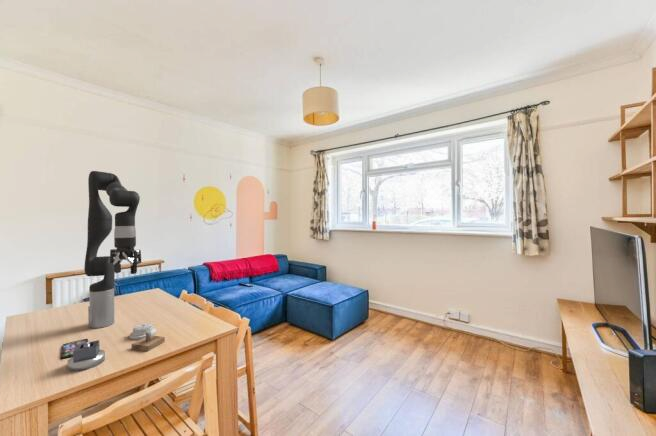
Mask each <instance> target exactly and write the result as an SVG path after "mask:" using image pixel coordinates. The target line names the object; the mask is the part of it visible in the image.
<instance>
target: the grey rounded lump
mask: <svg viewBox="0 0 656 436" xmlns="http://www.w3.org/2000/svg"><path fill="white" fill-rule="evenodd" d="M148 332H151V335H152V336H155V335H157V328H156V327H154V323H153V322H143V323H139V324H136V325H134V327H132V332H131V333H129V339H130V340H137V341H138V340H140V339H142V338H144V337H146V333H148Z"/></svg>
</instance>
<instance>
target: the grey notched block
mask: <svg viewBox="0 0 656 436" xmlns="http://www.w3.org/2000/svg"><path fill="white" fill-rule="evenodd" d="M89 342H90V347H86V348H83V345H84V343H82V344H78V345H77V346H76V348H75V350H74V351H73V363H75V362H80V361H84V360H89V359H94V358H96V357H97V355H98V353H99V350H100V339H97V340H93V341H89Z"/></svg>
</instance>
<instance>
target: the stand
mask: <svg viewBox="0 0 656 436" xmlns="http://www.w3.org/2000/svg"><path fill="white" fill-rule="evenodd" d="M165 337H166V336H165ZM165 337H164V336H161V335H160V336H159V335H153V336H152V335H151V332H148V333H146V337H144V338H142V339H139V340H137V341H134V342H132V343H131V349H132V350H138V351H143V352H149V351H151V350H152V349H154V348H156V347H158V346H160V345H161V344H163V343H164V342H165V340H166V339H165ZM165 343H166V342H165Z"/></svg>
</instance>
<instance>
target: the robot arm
mask: <svg viewBox="0 0 656 436" xmlns="http://www.w3.org/2000/svg"><path fill="white" fill-rule="evenodd" d="M87 181H88V182H87V184H88V185H87V186H88V213H87V214H88V215H87V238H86V239H87V241H86V243H87V244H86V251H85V258H84V267H83V268H84V270H83V271H84V274H85V276H87V277H99V276H100V277H103V279H101V280H99V281H97V282H93V283H91V284H90V285H89V287H88V288H89V294H88V295H89V306H88V310H87V311H88V314H87V315H88V319H87V320H88V327H89V328H91V329H99V328H104V327H109V326H111V325H113V324H115V321H116V320H115V275H116V274H118V273H121V272H122V262H123V260H124V261H127V262H128V263H129V264H130V274H131V275H135V274H137V273H138V265H140V264H141V263H142V251H141V249H135V247H136V245H137V231H136V230H137V229H136V213H137V209H138V206H139V204H140V201H141V199H140V198H141V197H140V195H139V193H138V192H137V191H135V190H128V189H127V188H126V187H124V186H123V184H122V183H121V181H120V178H119V177H118V176H117V175H116V174H114V173H112V172H107V171H106V172H105V171H99V170H91V171H89V174H88V180H87ZM99 191H105V192H106V195H107V196H108V197H109V200H108V201H109V203H110V205H112V206H113V207H118V208H119V207H123V208H125V207H126V208H127V210H126V211H119V212H116V213H115V214H114V230H113V216H112V213H111V212H110V210H109V209H108V208H107V206H106V205H105V204H104V202H103V201H102V199H101V196H100V194H99ZM112 230H113V234H114V235H113V237H114V238H113V239H114V240H113V242H114V243H113V244H114V248H112V249H110V251H109V253H110V254H109V256H106V255H105V256H98V252H99V248H100V247H101V245H102V243H104V241H105V240H106V238H108V237H109V235H110V233H111V232H112Z"/></svg>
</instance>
